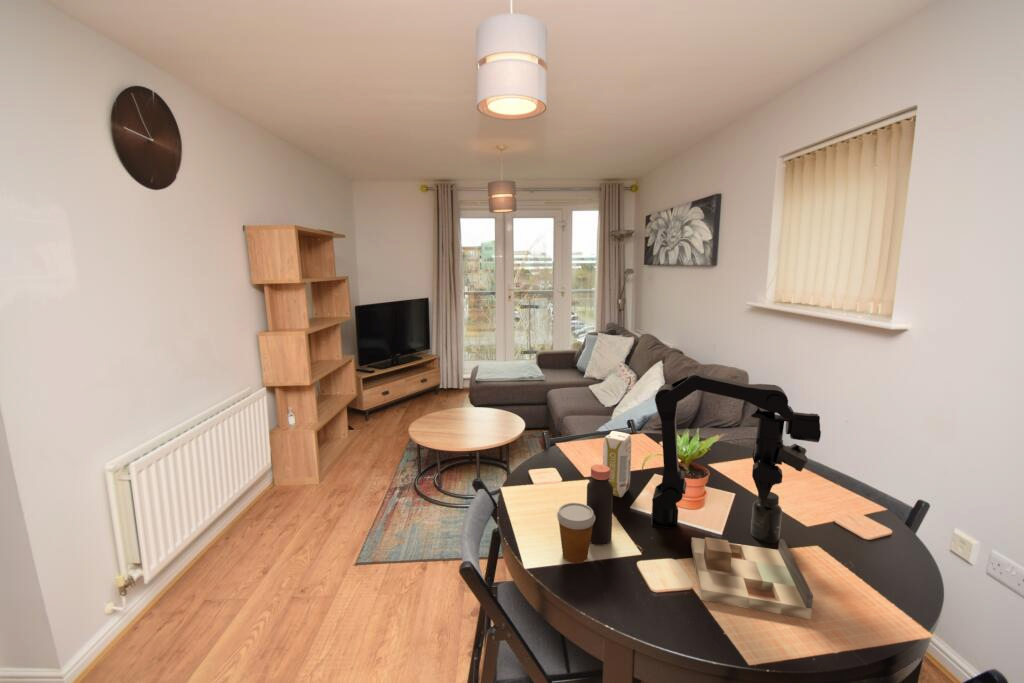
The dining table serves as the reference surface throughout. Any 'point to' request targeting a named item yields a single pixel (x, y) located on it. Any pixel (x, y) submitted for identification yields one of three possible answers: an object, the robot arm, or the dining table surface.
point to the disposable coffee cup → (575, 531)
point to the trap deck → (755, 580)
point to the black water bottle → (600, 504)
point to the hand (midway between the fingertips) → (763, 492)
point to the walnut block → (717, 554)
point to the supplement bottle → (766, 519)
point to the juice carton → (618, 460)
